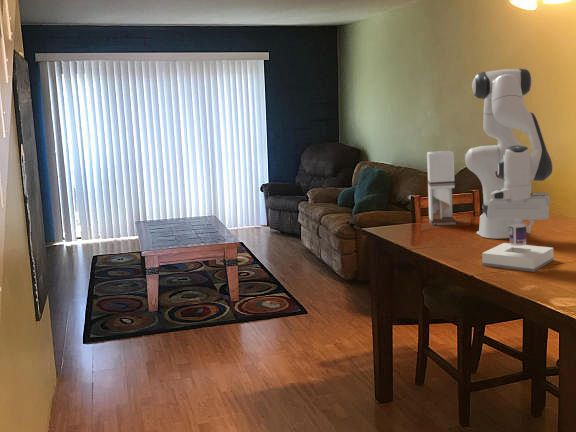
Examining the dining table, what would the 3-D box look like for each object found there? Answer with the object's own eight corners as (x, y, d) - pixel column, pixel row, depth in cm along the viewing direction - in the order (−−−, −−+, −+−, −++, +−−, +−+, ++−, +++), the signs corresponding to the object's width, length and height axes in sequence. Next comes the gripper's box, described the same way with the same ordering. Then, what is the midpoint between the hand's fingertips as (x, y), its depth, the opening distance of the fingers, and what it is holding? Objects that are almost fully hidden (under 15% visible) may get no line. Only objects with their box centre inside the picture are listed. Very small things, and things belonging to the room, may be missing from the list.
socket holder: (503, 254, 219) (503, 242, 218) (553, 260, 206) (553, 247, 206) (482, 265, 206) (482, 253, 205) (533, 271, 194) (533, 258, 193)
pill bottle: (528, 243, 205) (528, 216, 204) (522, 246, 201) (522, 218, 200) (513, 242, 209) (512, 215, 207) (507, 245, 205) (507, 217, 203)
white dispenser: (431, 225, 283) (429, 153, 278) (429, 221, 294) (426, 152, 288) (455, 224, 282) (453, 152, 276) (452, 220, 292) (450, 150, 287)
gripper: (550, 191, 201) (550, 230, 203) (487, 192, 209) (488, 229, 211) (550, 193, 195) (550, 234, 197) (486, 194, 203) (486, 233, 206)
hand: (517, 231), depth 204 cm, fingers closed on pill bottle, 5 cm apart
